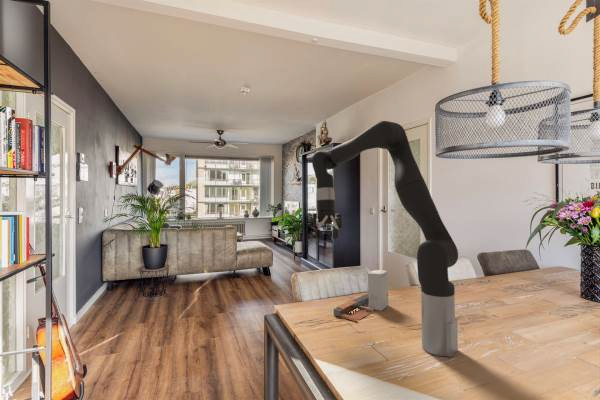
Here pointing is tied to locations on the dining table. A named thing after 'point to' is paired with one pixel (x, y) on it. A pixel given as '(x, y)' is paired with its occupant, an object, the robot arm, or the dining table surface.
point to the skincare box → (378, 289)
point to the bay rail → (350, 306)
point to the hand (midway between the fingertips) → (326, 239)
